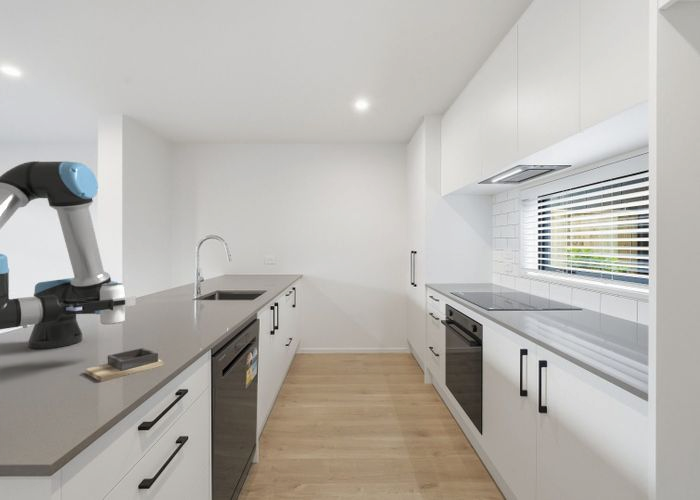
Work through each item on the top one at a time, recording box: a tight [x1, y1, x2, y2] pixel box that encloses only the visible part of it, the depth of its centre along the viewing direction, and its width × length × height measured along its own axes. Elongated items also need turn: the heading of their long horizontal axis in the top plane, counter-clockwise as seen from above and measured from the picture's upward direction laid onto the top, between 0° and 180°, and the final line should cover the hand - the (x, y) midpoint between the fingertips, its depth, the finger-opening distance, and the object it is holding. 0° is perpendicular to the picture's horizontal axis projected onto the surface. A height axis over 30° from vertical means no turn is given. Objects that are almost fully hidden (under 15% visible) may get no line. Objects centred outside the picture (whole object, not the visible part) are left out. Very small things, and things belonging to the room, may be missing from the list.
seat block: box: [84, 347, 164, 383], centre depth 103 cm, size 11×16×4 cm
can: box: [99, 282, 126, 325], centre depth 113 cm, size 6×6×12 cm
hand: (130, 299), depth 117 cm, fingers closed on can, 6 cm apart
